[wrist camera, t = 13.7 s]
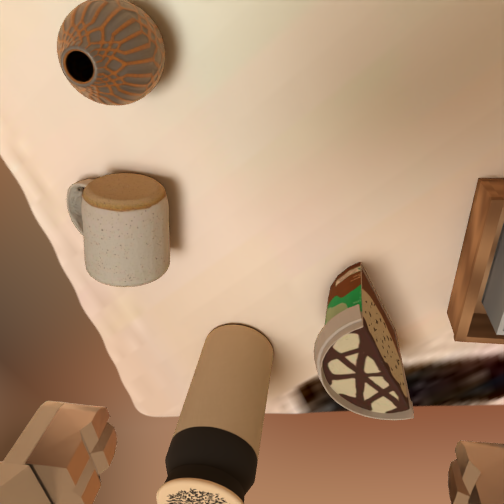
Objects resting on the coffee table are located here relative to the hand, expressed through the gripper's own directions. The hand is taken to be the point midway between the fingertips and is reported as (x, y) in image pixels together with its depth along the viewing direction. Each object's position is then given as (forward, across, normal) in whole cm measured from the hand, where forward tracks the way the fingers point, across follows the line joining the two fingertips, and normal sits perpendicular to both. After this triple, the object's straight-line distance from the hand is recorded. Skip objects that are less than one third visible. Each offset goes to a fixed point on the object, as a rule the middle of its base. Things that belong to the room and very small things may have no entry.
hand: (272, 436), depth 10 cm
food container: (+29, -4, +20) cm, 36 cm away
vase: (+29, +14, -5) cm, 33 cm away
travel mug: (+29, +8, +27) cm, 41 cm away
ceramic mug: (+29, +18, +9) cm, 36 cm away
